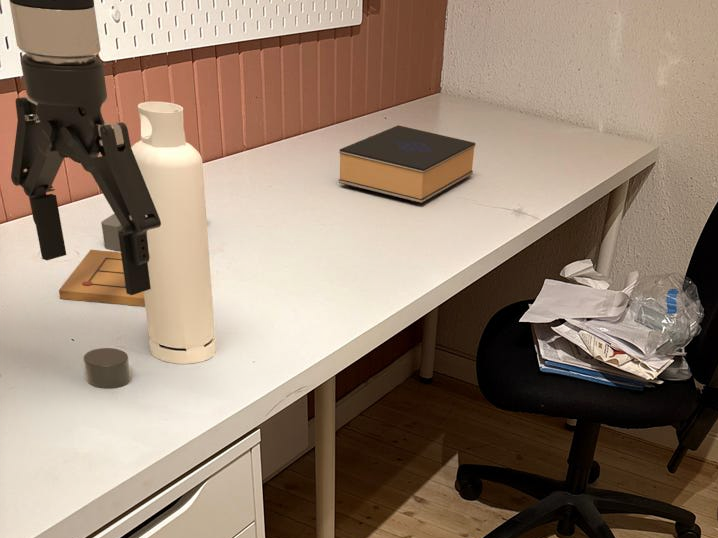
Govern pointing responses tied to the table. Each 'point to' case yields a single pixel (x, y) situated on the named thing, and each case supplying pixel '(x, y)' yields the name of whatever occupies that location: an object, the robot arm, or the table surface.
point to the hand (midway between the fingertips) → (95, 274)
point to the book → (406, 163)
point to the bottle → (176, 238)
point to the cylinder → (107, 367)
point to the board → (100, 281)
